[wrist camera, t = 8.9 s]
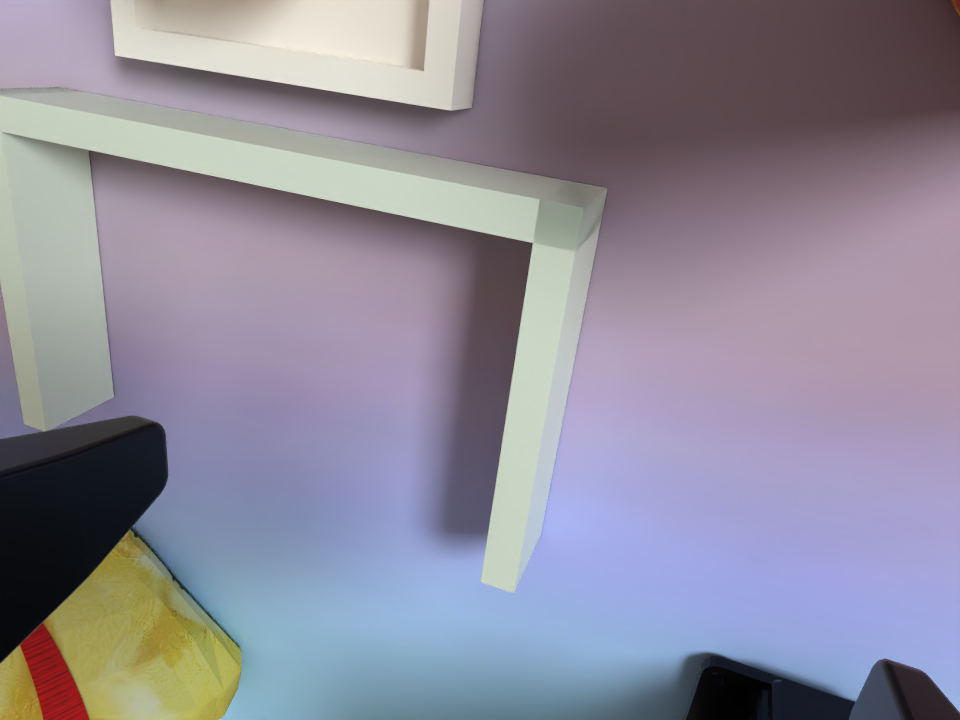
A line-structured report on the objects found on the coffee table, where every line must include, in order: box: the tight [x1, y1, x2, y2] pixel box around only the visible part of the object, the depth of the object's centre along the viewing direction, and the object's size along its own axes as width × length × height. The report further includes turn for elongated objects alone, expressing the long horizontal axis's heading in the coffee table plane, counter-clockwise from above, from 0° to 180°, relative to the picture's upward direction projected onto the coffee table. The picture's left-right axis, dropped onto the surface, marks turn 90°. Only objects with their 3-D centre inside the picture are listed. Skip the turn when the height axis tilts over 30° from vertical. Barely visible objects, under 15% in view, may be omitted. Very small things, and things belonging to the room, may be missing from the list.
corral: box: [0, 87, 608, 593], centre depth 22 cm, size 11×18×3 cm, turn 82°
